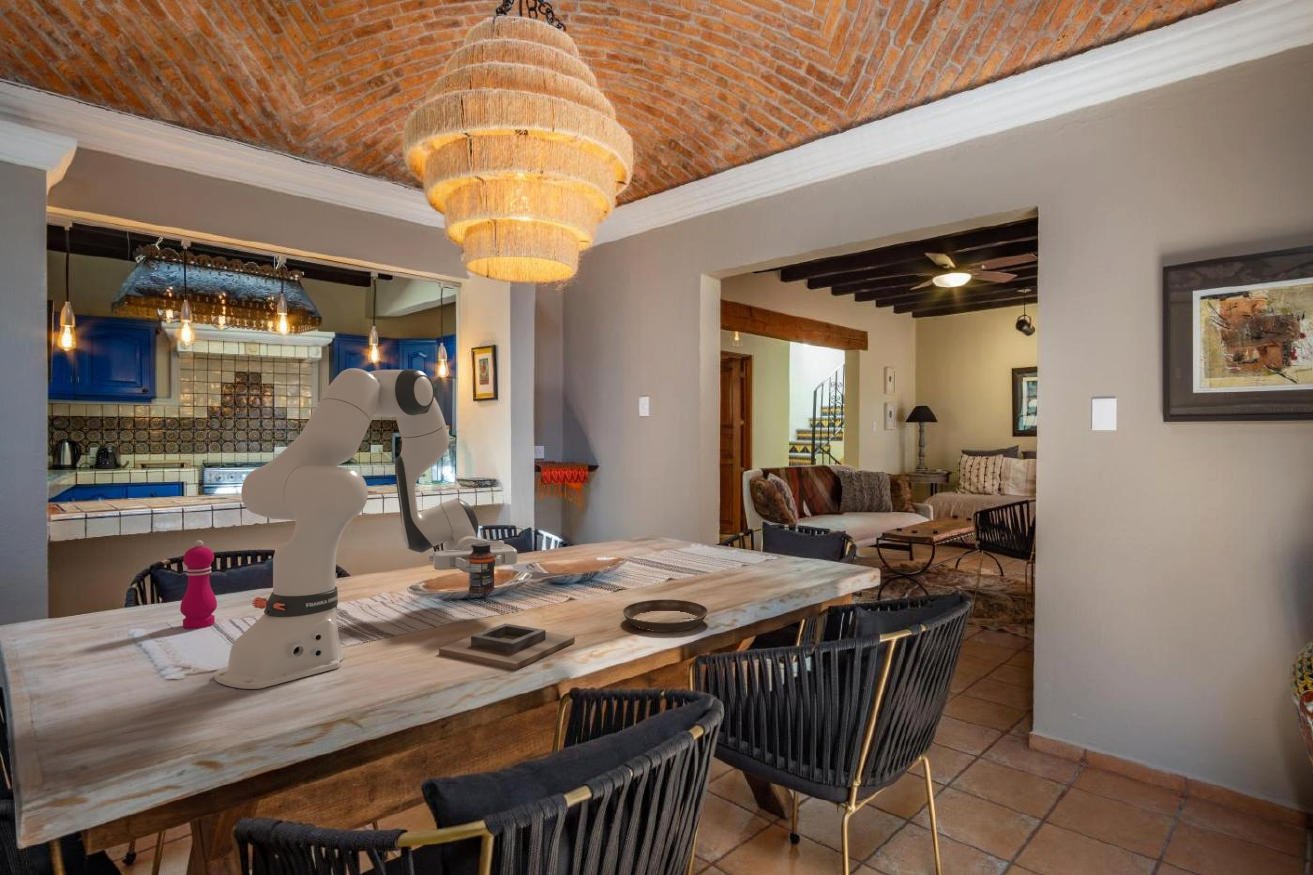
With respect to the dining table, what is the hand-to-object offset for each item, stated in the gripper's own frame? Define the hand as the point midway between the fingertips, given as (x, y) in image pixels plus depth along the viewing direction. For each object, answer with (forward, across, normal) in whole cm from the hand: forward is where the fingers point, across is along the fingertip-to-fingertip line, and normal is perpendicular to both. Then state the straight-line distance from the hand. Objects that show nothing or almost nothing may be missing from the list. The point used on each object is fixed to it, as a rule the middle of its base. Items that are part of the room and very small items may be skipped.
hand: (482, 563), depth 165 cm
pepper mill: (-29, -59, +15) cm, 68 cm away
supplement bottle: (-1, 0, +7) cm, 7 cm away
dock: (+20, +1, +15) cm, 25 cm away
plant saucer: (+17, +40, +15) cm, 46 cm away
